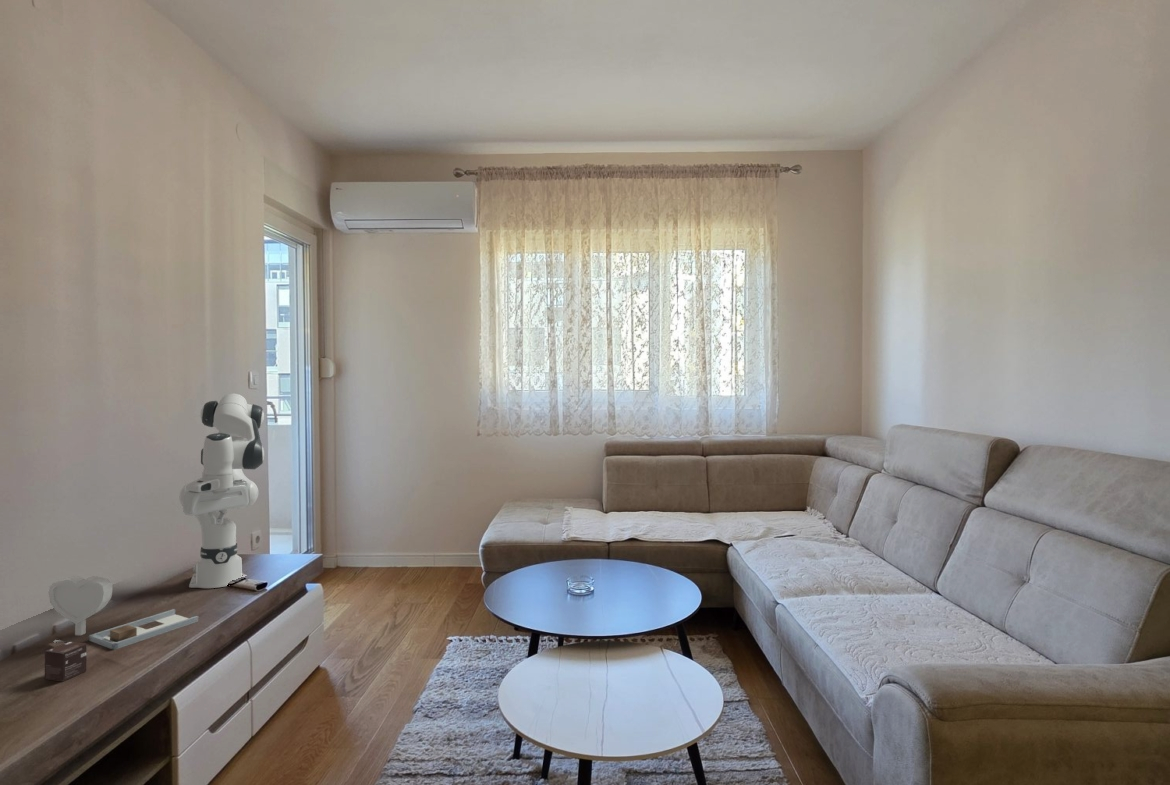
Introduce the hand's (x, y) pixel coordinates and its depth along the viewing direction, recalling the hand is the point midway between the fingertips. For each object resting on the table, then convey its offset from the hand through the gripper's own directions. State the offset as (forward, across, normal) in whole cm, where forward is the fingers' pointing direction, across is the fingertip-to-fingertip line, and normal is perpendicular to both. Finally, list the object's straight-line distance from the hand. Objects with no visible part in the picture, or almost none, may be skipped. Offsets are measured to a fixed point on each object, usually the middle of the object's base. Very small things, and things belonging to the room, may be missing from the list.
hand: (217, 524), depth 198 cm
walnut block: (+28, +29, +4) cm, 40 cm away
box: (+29, +45, +10) cm, 55 cm away
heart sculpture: (+29, +32, -13) cm, 45 cm away
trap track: (+29, +21, +1) cm, 36 cm away
